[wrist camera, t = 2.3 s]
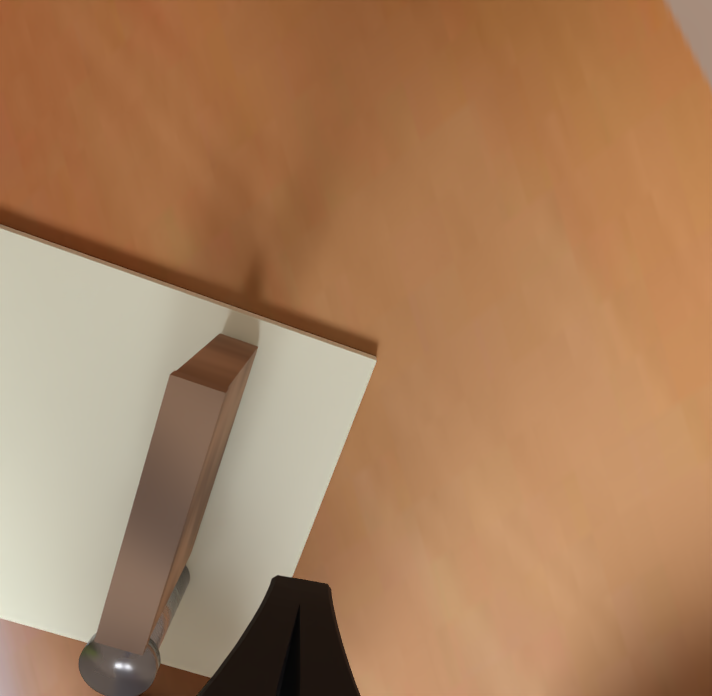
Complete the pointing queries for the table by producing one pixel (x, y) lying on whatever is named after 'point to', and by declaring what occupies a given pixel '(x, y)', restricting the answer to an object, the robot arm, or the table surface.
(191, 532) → the brown wooden block
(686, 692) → the table surface
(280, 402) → the board
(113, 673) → the post
